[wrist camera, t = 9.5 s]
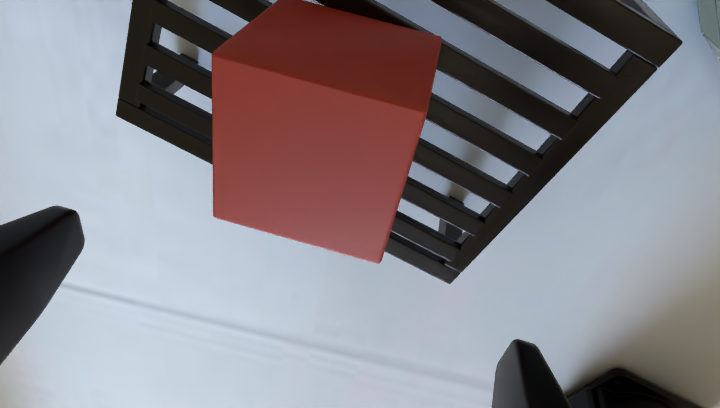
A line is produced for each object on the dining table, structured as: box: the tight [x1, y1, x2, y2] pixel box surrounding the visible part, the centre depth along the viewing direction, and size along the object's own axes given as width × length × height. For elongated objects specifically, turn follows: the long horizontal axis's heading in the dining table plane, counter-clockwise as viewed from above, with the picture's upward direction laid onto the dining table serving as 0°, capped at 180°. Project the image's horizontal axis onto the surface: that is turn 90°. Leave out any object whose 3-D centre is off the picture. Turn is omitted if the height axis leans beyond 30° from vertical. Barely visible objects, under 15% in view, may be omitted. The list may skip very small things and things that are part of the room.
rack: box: [116, 0, 682, 284], centre depth 16 cm, size 14×11×5 cm
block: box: [212, 0, 442, 264], centre depth 13 cm, size 4×4×4 cm
